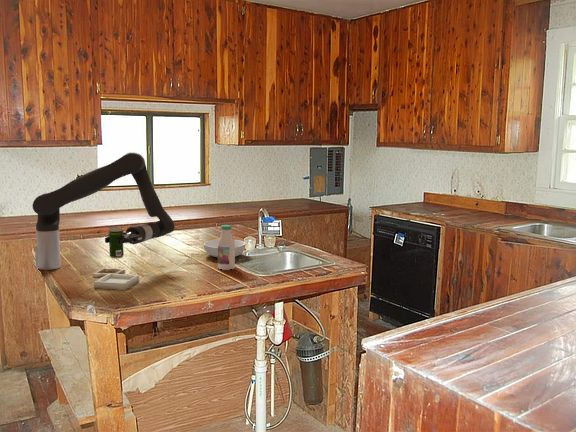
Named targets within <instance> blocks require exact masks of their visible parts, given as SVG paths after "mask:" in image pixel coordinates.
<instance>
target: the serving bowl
mask: <svg viewBox="0 0 576 432" xmlns="http://www.w3.org/2000/svg"><path fill="white" fill-rule="evenodd" d="M219 239H220V238H218V239H217V238H216V239H210V240H207V241H205V242H204V243H203V247H204V251H205V252H206V253H207V254H208V255H209V256H211V257H213V258H217V257H218V242H219ZM234 243H235V258H236V257H238V256H240V255H242V254H243V253H244V251H245V248H246V245H247V243H246V242H245V241H243V240H239V239H234Z"/></svg>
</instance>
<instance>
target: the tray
mask: <svg viewBox="0 0 576 432" xmlns="http://www.w3.org/2000/svg"><path fill="white" fill-rule="evenodd" d="M107 274H108V275H106V276H104V277H102V278H100V277H99V279H96V280H95V281H93V288H95V289H104V290H105V289H106V290H119V291H126V290H128V289H130V288H131V287H132V286H134V285H135V284H137V283H139V282H140V275H139V274H126V273H123V274H115V273H112V272H108V273H107Z"/></svg>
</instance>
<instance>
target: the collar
mask: <svg viewBox="0 0 576 432" xmlns="http://www.w3.org/2000/svg"><path fill="white" fill-rule="evenodd" d="M109 273H114V274H126V269H125V268H114V267H113V268H112V267H103V268H100V269H99V270H97V271H95V272H93V273H92V278H99V279H100V278H102V277H104V276H106V275H108V274H109Z"/></svg>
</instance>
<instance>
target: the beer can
mask: <svg viewBox="0 0 576 432" xmlns="http://www.w3.org/2000/svg"><path fill="white" fill-rule="evenodd" d="M123 232H124V231H123V226H111V227H109V228H108V235H109V243H108V246H109V257H110V258H111V259H115V260H116V259H122V258H123V257H124V255H125V254H124V252H125V251H124V243H123V244H119V245H118V244H117V239H119V238H123Z"/></svg>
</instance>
